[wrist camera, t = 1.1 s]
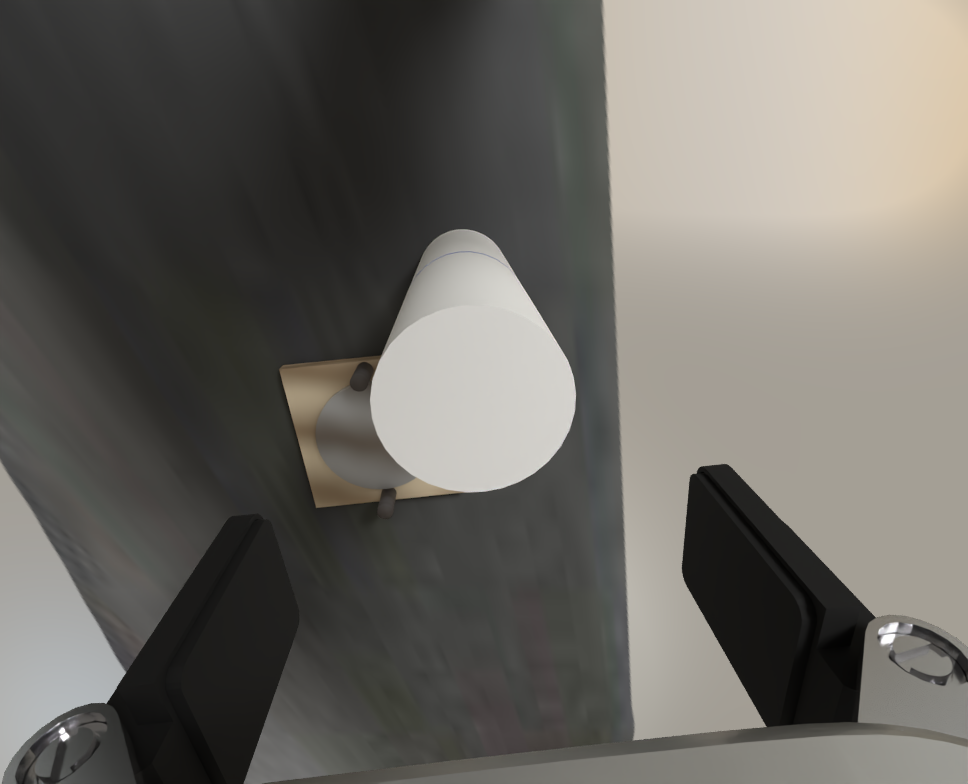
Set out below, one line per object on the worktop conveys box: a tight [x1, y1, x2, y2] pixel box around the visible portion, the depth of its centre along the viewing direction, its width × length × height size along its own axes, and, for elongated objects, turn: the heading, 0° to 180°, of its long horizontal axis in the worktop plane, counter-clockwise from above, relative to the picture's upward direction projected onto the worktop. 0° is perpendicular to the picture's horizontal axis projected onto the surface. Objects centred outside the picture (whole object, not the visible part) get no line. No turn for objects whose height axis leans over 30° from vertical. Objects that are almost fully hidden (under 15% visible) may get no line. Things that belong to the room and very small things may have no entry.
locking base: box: [279, 355, 462, 519], centre depth 44 cm, size 14×14×4 cm
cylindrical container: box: [370, 229, 576, 492], centre depth 29 cm, size 7×7×25 cm
